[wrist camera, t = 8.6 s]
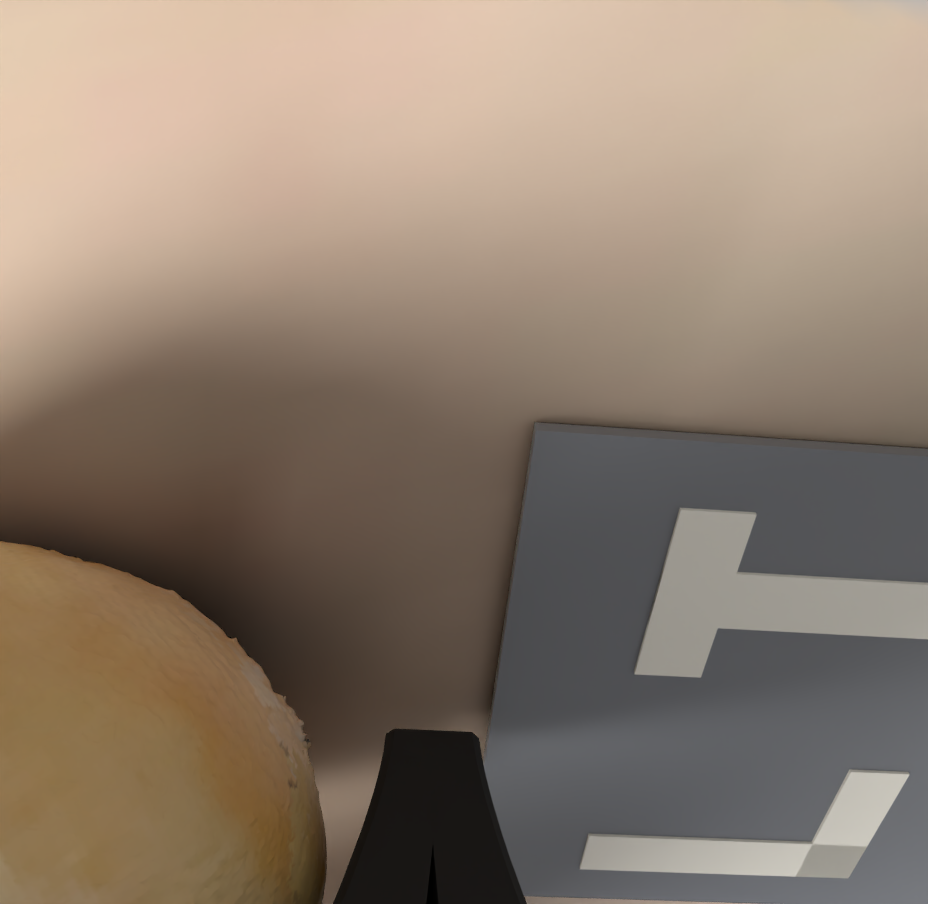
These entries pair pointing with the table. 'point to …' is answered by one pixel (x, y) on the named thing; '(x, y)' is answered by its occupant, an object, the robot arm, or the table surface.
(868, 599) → the card
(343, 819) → the table surface
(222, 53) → the table surface
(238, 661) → the onion
